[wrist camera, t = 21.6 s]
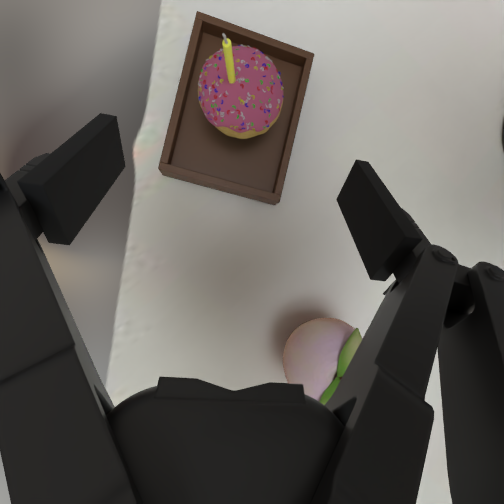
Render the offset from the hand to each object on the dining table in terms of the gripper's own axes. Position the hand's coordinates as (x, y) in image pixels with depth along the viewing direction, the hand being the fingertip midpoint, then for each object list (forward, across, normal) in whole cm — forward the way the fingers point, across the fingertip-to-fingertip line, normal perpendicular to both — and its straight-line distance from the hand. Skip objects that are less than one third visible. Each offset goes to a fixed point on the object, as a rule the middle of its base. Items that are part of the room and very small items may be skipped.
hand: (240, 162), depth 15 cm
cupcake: (+18, 0, -4) cm, 19 cm away
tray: (+19, 0, -4) cm, 19 cm away
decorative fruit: (0, +12, -22) cm, 25 cm away
